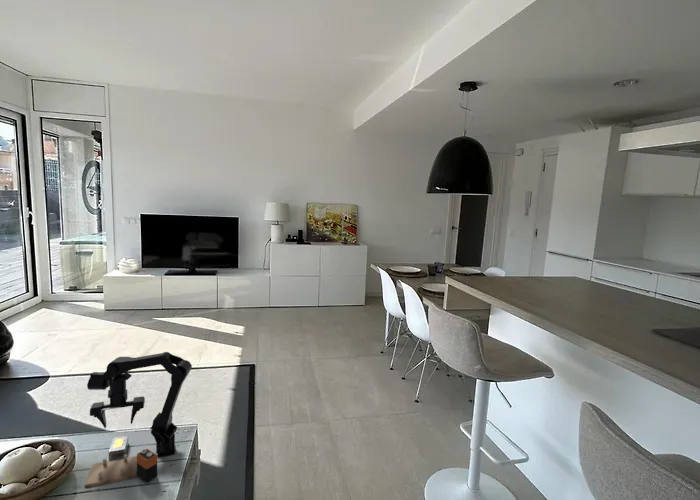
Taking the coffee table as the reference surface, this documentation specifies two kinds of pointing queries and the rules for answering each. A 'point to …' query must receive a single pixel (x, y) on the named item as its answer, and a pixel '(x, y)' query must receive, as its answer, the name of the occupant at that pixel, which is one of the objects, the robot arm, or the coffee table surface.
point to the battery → (146, 465)
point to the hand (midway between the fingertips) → (118, 425)
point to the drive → (118, 447)
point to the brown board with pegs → (112, 471)
